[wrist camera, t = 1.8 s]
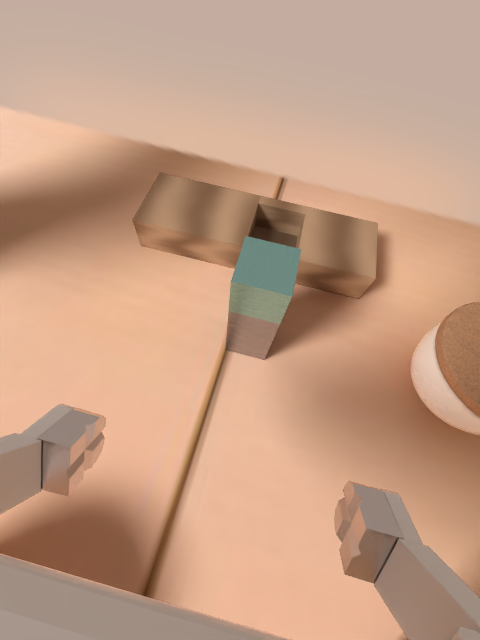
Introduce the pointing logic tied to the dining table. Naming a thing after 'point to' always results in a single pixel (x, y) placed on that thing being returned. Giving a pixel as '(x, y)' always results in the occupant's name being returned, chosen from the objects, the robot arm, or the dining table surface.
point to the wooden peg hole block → (258, 232)
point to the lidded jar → (451, 369)
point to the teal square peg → (260, 295)
